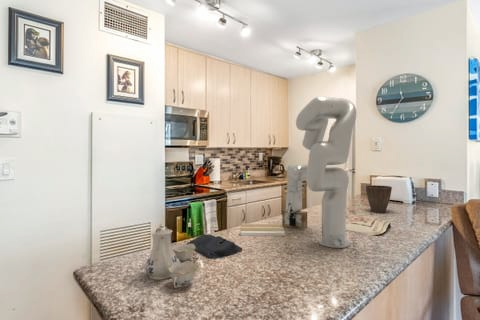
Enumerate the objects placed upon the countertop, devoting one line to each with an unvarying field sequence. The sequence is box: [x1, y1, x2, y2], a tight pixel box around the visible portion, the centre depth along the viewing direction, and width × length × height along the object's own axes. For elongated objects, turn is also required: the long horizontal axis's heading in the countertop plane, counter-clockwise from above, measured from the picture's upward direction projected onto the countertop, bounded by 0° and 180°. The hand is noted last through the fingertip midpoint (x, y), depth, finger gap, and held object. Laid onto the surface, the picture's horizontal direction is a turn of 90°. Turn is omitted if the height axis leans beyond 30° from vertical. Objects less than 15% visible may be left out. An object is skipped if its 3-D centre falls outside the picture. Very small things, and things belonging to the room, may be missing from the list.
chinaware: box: [143, 222, 199, 289], centre depth 90 cm, size 28×17×17 cm, turn 16°
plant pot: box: [365, 184, 393, 214], centre depth 177 cm, size 15×15×16 cm
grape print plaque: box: [346, 214, 392, 236], centre depth 146 cm, size 28×6×30 cm
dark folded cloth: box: [186, 233, 243, 260], centre depth 113 cm, size 15×22×5 cm
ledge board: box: [240, 223, 286, 237], centre depth 134 cm, size 20×12×3 cm, turn 88°
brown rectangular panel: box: [281, 208, 308, 230], centre depth 144 cm, size 12×4×8 cm, turn 53°
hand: (294, 224), depth 144 cm, fingers closed on brown rectangular panel, 4 cm apart
